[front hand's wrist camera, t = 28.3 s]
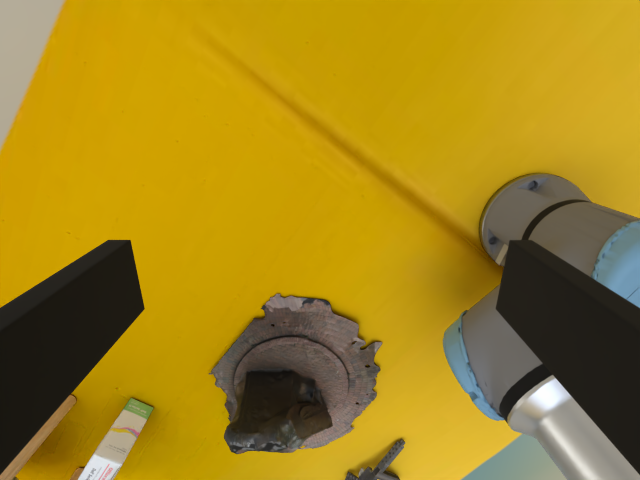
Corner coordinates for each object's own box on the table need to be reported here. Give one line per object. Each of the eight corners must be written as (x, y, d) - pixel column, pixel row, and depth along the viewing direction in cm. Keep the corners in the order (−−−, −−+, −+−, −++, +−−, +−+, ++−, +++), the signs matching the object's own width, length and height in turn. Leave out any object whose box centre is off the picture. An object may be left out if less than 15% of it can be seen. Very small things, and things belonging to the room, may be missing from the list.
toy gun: (357, 513, 75) (394, 544, 67) (334, 507, 71) (371, 539, 63) (386, 431, 81) (423, 450, 74) (366, 421, 77) (403, 440, 70)
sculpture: (164, 365, 64) (117, 444, 49) (320, 263, 57) (320, 319, 42) (276, 468, 74) (265, 560, 59) (422, 392, 66) (451, 475, 51)
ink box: (130, 395, 67) (81, 471, 53) (154, 407, 68) (112, 484, 54) (113, 424, 69) (61, 503, 55) (136, 434, 70) (91, 515, 56)
